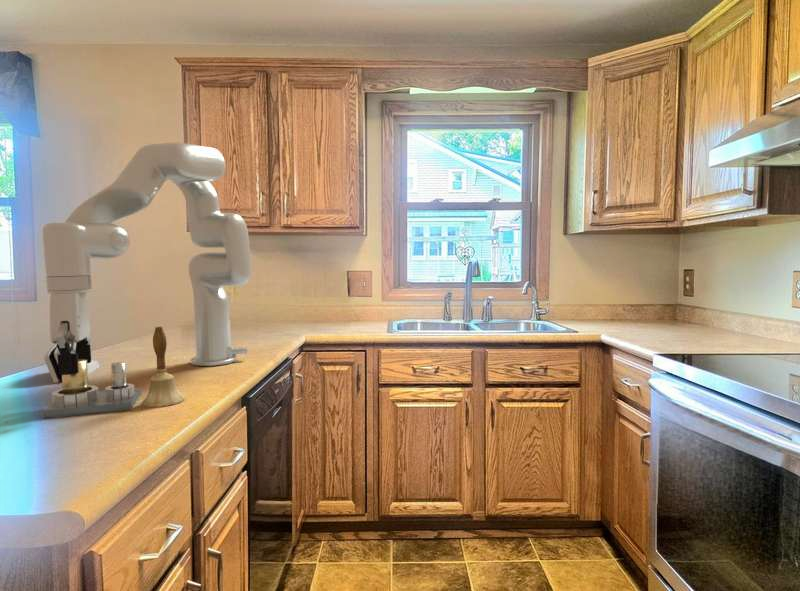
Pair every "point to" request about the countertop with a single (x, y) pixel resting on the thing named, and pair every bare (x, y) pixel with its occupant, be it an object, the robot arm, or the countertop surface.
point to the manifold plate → (96, 397)
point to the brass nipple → (76, 379)
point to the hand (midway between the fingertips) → (76, 368)
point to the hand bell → (161, 377)
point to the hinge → (52, 364)
